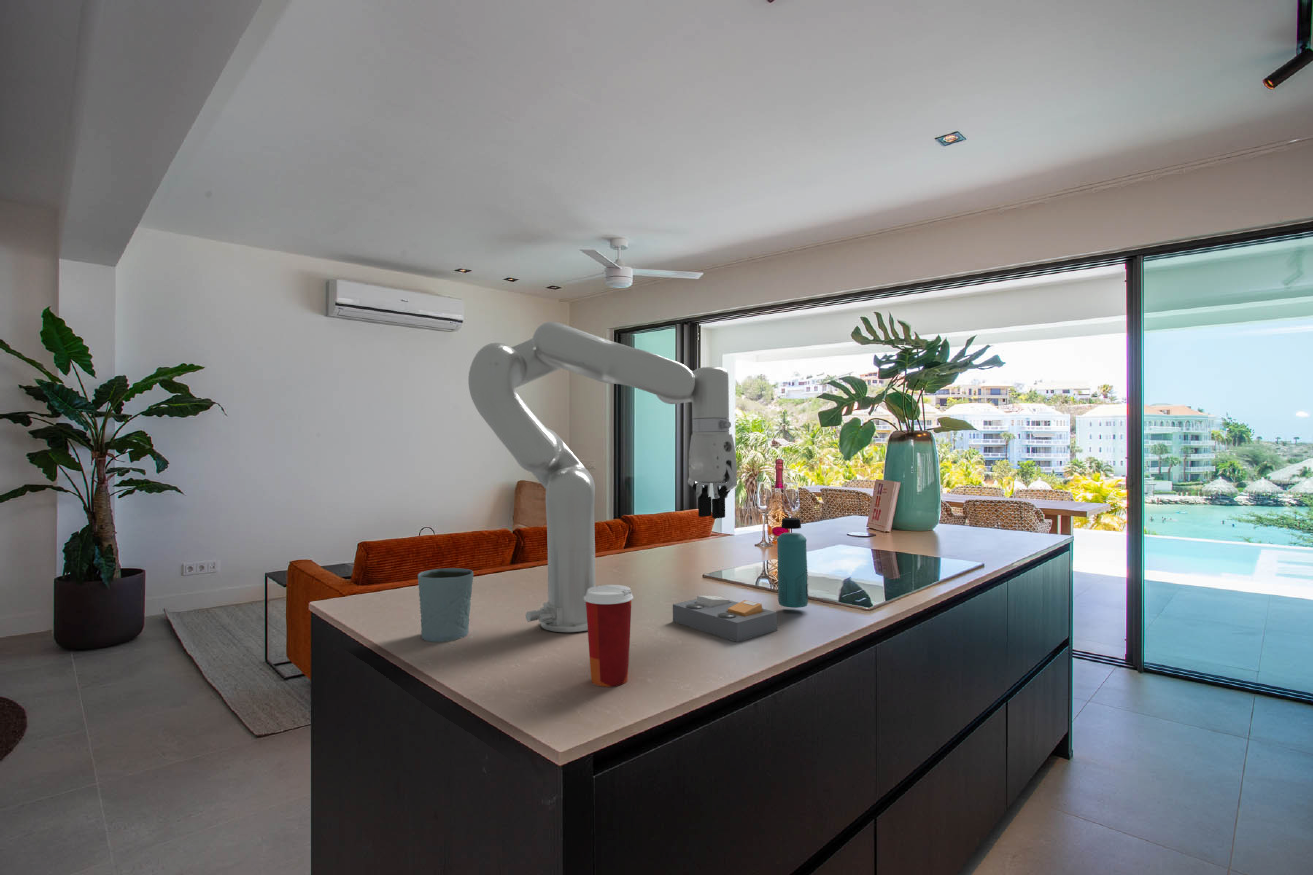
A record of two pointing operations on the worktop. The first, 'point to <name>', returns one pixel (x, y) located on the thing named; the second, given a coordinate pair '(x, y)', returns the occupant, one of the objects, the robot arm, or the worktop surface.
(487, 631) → the worktop surface
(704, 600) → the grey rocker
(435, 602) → the grey-blue cup
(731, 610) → the labelled cardboard parcel
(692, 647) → the worktop surface
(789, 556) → the beverage bottle
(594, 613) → the paper cup
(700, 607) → the grey switch box
